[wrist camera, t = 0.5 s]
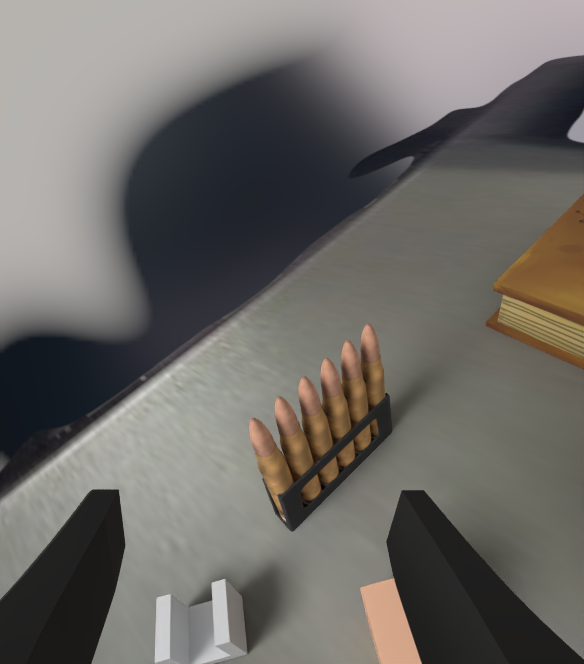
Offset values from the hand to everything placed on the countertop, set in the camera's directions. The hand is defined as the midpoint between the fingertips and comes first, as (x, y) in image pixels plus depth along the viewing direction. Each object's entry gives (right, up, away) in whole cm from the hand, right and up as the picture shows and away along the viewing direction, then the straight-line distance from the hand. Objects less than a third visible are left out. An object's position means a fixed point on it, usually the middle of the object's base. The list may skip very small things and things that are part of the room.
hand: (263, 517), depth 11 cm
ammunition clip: (+4, -6, +21) cm, 22 cm away
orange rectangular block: (+7, -13, +13) cm, 19 cm away
